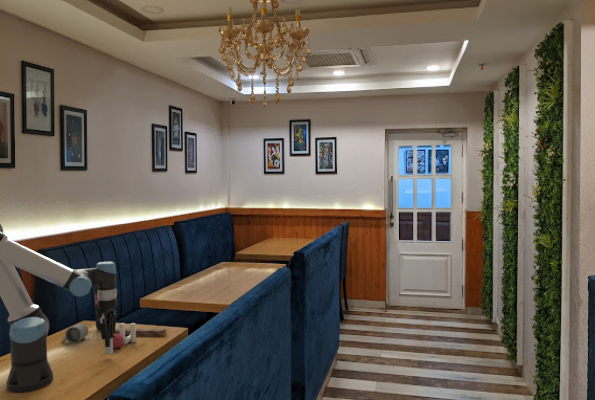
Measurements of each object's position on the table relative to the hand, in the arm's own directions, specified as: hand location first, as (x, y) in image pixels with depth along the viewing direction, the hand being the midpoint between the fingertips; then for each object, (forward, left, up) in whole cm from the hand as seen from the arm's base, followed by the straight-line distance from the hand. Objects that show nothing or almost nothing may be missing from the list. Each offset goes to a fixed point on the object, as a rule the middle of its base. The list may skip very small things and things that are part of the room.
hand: (109, 353), depth 198 cm
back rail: (+16, +24, -2) cm, 29 cm away
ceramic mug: (-13, +31, -2) cm, 34 cm away
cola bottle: (+1, +42, -2) cm, 43 cm away
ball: (+4, +11, +1) cm, 12 cm away
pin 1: (+7, +18, -2) cm, 19 cm away
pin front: (+8, +13, -1) cm, 15 cm away
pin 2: (+12, +15, -2) cm, 19 cm away
